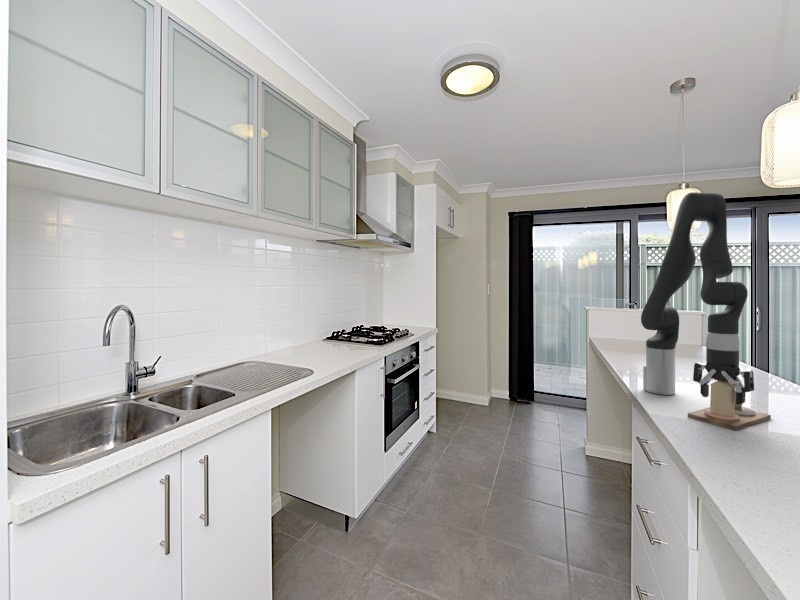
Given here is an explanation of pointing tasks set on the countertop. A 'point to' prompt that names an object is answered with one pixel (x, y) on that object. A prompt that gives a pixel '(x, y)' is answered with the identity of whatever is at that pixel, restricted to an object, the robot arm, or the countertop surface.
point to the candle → (722, 399)
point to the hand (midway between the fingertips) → (721, 400)
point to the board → (745, 420)
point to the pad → (733, 418)
